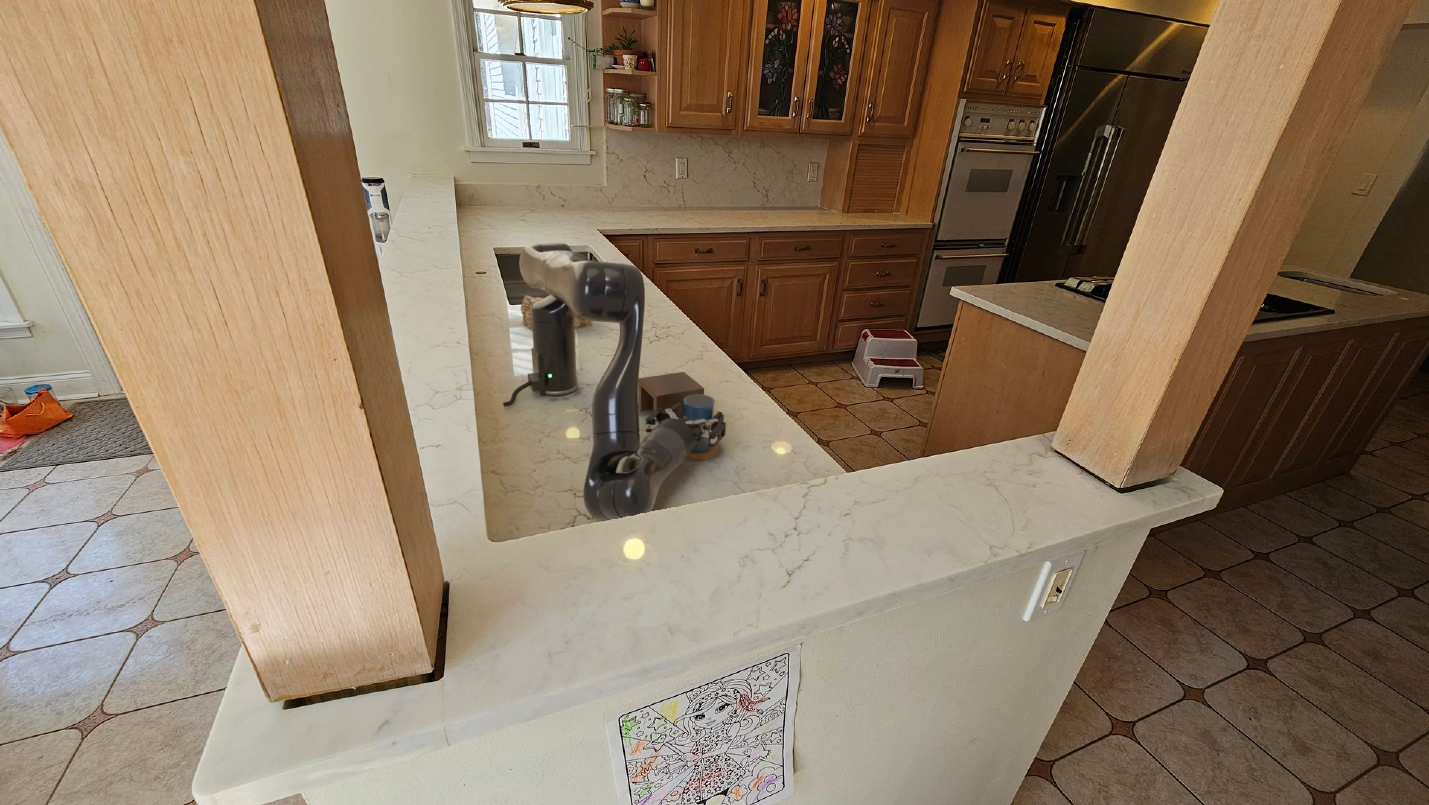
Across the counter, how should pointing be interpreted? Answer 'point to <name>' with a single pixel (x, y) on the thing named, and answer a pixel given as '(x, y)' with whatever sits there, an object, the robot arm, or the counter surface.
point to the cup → (699, 415)
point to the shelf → (666, 391)
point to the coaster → (705, 455)
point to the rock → (527, 317)
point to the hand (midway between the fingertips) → (699, 411)
